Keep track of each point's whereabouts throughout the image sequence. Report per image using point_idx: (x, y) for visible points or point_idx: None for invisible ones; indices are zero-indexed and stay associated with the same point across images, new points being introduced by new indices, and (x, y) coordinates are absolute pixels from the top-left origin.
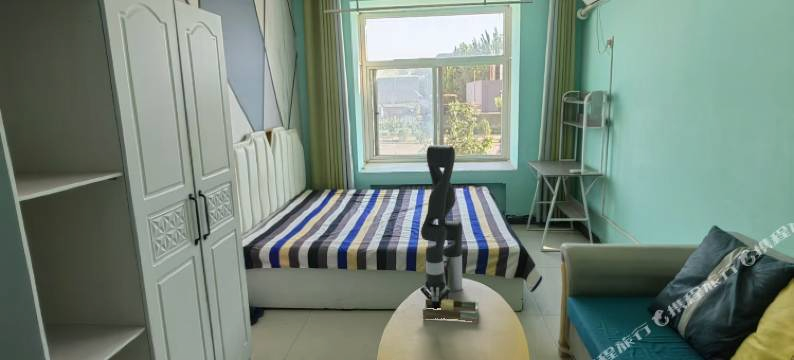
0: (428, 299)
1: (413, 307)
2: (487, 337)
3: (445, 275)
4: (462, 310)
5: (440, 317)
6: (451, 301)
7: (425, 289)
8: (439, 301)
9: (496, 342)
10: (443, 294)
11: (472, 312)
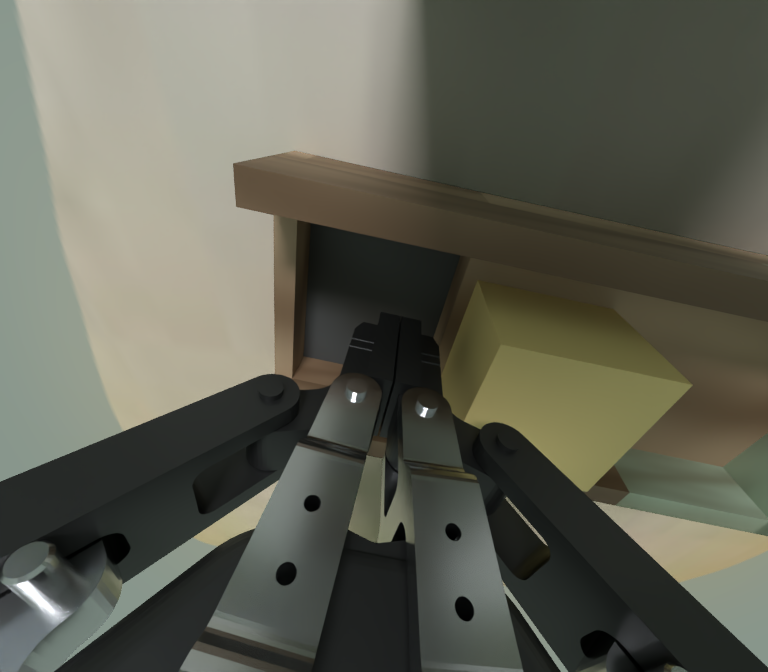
0: (283, 197)
1: (139, 116)
2: (648, 542)
3: None
4: (687, 359)
5: None
6: (624, 419)
7: (80, 618)
8: (463, 251)
9: (665, 568)
10: (524, 607)
11: (731, 523)
